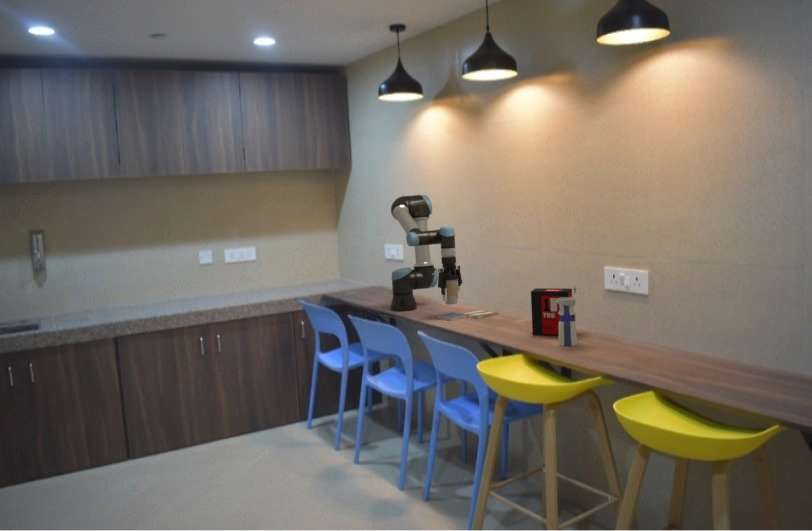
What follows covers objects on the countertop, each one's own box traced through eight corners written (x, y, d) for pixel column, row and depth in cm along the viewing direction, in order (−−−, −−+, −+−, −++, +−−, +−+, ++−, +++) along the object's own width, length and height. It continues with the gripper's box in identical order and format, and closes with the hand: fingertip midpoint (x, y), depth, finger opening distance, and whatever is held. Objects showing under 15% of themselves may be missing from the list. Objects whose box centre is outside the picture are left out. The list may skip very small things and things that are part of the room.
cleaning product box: (532, 335, 312) (530, 291, 309) (537, 331, 320) (535, 288, 317) (569, 336, 305) (567, 291, 303) (573, 332, 313) (571, 288, 311)
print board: (458, 315, 368) (458, 313, 368) (478, 311, 377) (478, 309, 377) (478, 318, 356) (478, 316, 356) (498, 314, 365) (498, 311, 365)
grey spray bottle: (578, 341, 295) (576, 283, 292) (578, 346, 286) (576, 286, 284) (558, 341, 297) (556, 284, 294) (558, 346, 288) (555, 287, 285)
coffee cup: (459, 304, 356) (457, 276, 355) (441, 305, 358) (439, 276, 357) (461, 301, 365) (459, 273, 364) (443, 302, 367) (442, 274, 366)
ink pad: (437, 318, 364) (437, 315, 363) (452, 315, 370) (452, 312, 370) (451, 321, 355) (451, 317, 355) (466, 317, 362) (466, 314, 362)
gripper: (438, 258, 350) (441, 303, 352) (467, 254, 363) (470, 297, 365) (428, 258, 356) (431, 301, 358) (458, 253, 368) (460, 295, 371)
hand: (451, 299), depth 362 cm, fingers closed on coffee cup, 8 cm apart
